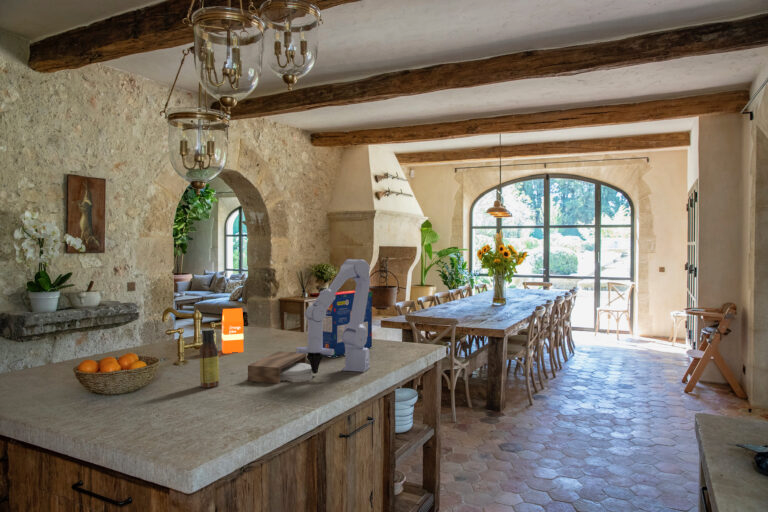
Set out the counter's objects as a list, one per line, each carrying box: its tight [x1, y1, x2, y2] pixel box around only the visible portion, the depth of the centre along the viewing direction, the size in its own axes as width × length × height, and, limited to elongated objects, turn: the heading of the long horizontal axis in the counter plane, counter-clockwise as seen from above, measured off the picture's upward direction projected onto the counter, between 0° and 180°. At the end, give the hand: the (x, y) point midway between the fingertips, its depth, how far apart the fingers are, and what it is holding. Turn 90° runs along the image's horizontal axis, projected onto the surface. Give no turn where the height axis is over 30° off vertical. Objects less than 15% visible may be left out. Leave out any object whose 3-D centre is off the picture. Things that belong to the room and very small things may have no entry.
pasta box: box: [323, 290, 373, 358], centre depth 234 cm, size 28×8×28 cm, turn 145°
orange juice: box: [221, 307, 245, 354], centre depth 233 cm, size 8×9×20 cm
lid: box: [280, 362, 313, 383], centre depth 190 cm, size 17×20×3 cm
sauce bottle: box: [199, 328, 220, 389], centre depth 175 cm, size 6×6×20 cm
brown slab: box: [247, 350, 307, 384], centre depth 192 cm, size 12×26×6 cm, turn 167°
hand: (315, 372), depth 189 cm, fingers closed
